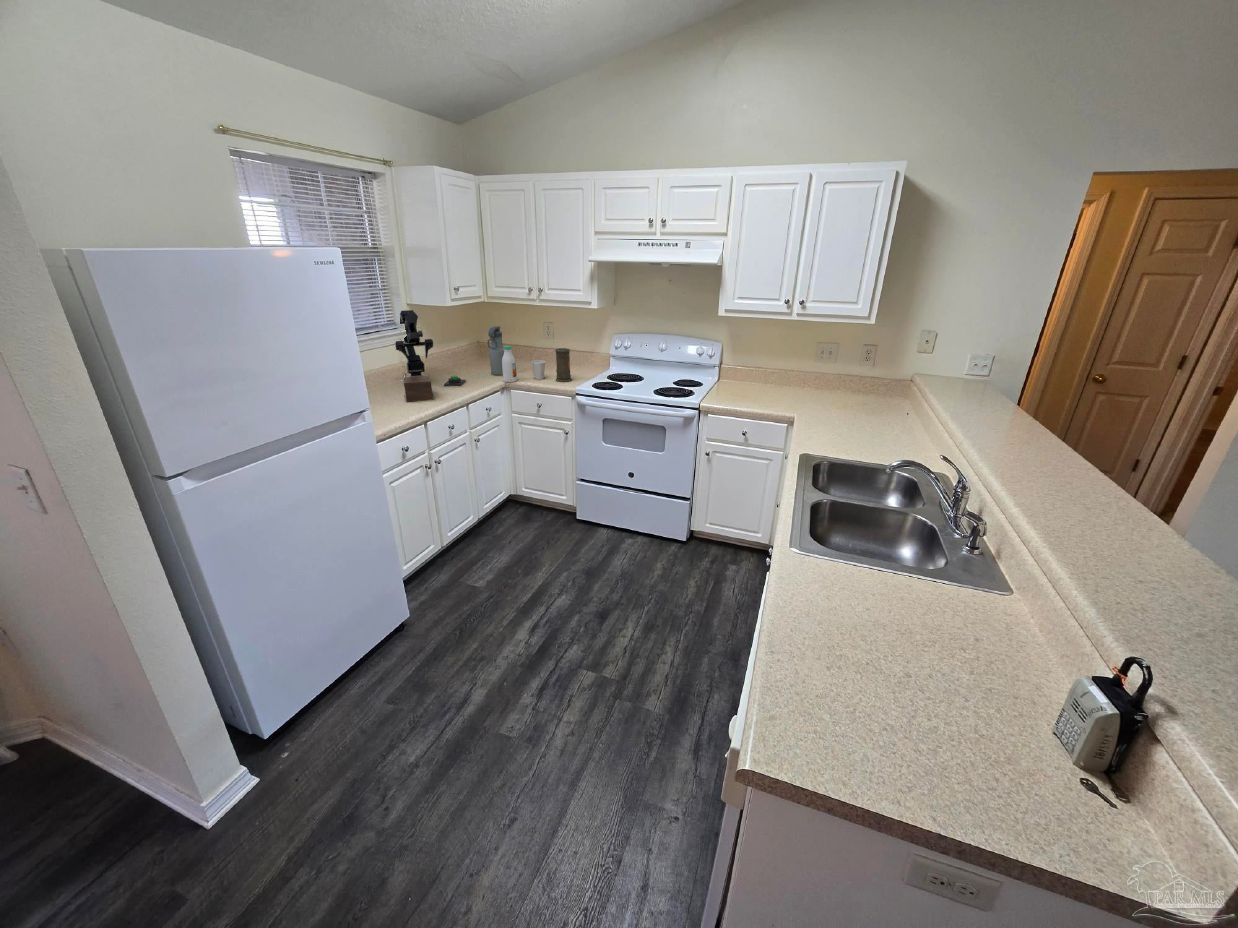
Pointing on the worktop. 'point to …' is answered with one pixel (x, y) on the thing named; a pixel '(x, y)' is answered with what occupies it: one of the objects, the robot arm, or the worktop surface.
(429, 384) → the brown block
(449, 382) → the control block
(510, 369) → the milk bottle
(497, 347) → the water bottle
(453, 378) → the button
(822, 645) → the worktop surface
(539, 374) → the dixie cup
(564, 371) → the container
